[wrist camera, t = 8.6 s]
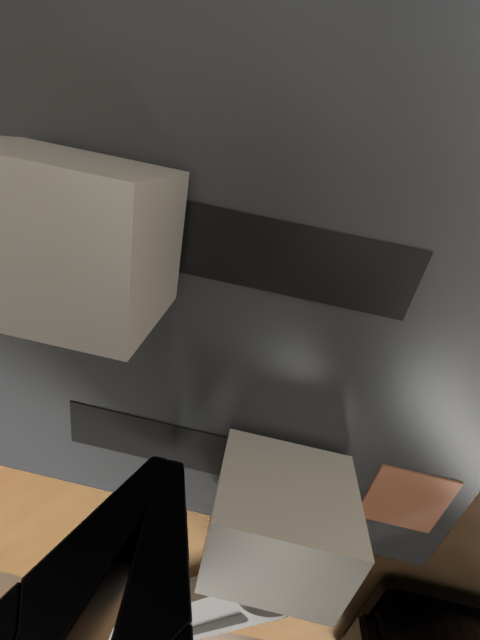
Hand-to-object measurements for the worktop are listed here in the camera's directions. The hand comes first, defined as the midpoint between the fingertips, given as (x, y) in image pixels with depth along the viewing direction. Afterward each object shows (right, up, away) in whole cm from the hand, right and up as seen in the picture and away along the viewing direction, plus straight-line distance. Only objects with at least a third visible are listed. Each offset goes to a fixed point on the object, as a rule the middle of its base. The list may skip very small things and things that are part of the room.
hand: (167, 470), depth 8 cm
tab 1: (-1, +5, -2) cm, 6 cm away
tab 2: (+3, 0, 0) cm, 3 cm away
